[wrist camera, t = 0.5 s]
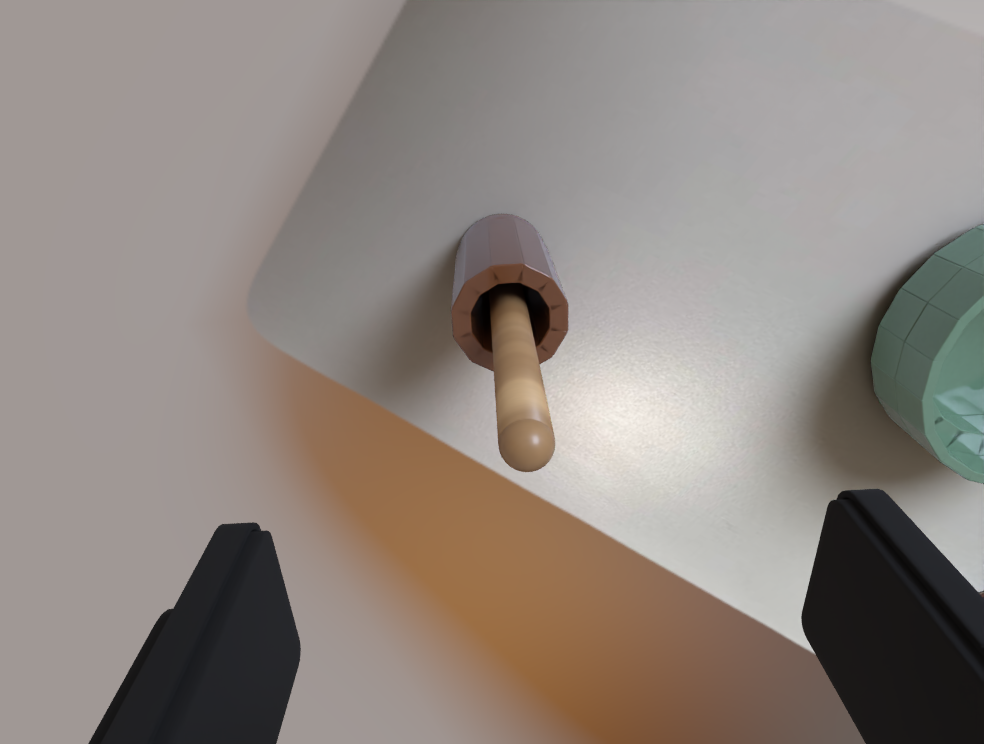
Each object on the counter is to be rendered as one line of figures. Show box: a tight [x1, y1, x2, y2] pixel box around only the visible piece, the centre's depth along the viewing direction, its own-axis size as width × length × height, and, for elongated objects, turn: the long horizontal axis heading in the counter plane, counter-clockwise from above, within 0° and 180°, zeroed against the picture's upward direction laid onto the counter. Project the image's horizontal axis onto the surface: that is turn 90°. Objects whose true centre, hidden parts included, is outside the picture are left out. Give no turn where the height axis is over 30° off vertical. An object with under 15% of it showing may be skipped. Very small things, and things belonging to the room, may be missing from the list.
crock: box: [451, 214, 568, 371], centre depth 30 cm, size 5×5×9 cm
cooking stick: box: [489, 283, 555, 472], centre depth 25 cm, size 2×2×18 cm
